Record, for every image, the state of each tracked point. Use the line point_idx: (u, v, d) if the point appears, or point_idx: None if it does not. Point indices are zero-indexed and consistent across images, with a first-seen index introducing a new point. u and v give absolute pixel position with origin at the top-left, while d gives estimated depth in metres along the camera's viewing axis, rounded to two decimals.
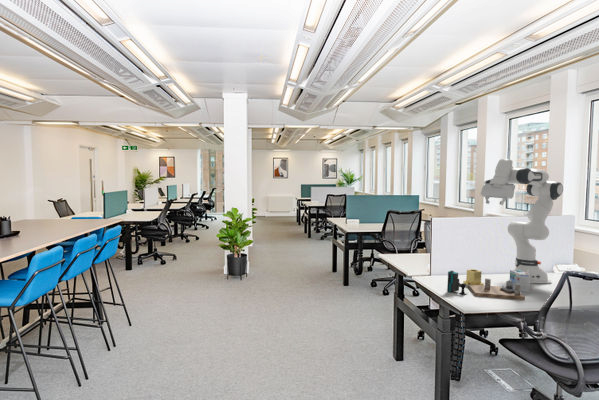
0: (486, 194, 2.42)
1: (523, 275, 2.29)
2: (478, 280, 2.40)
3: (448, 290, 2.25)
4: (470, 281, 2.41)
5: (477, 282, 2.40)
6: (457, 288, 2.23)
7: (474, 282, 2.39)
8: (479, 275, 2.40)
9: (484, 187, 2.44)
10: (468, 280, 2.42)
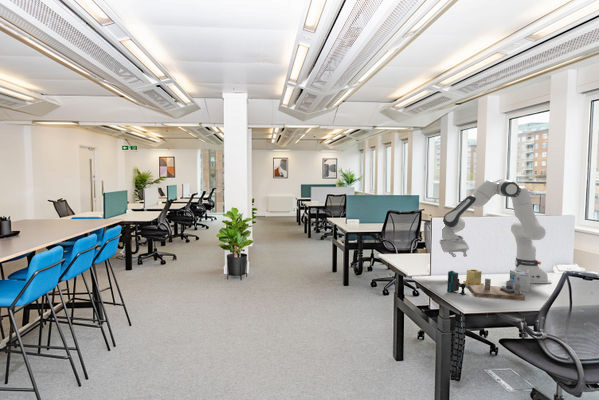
0: None
1: (523, 275, 2.29)
2: (478, 280, 2.40)
3: (448, 290, 2.25)
4: (470, 281, 2.41)
5: (477, 282, 2.40)
6: (457, 288, 2.23)
7: (474, 282, 2.39)
8: (479, 275, 2.40)
9: None
10: (468, 280, 2.42)
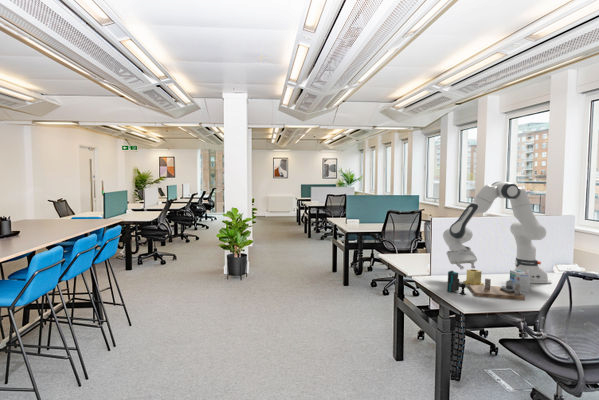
0: None
1: (523, 275, 2.29)
2: (478, 280, 2.40)
3: (448, 290, 2.25)
4: (470, 281, 2.41)
5: (477, 282, 2.40)
6: (457, 288, 2.23)
7: (474, 282, 2.39)
8: (479, 275, 2.40)
9: None
10: (468, 280, 2.42)
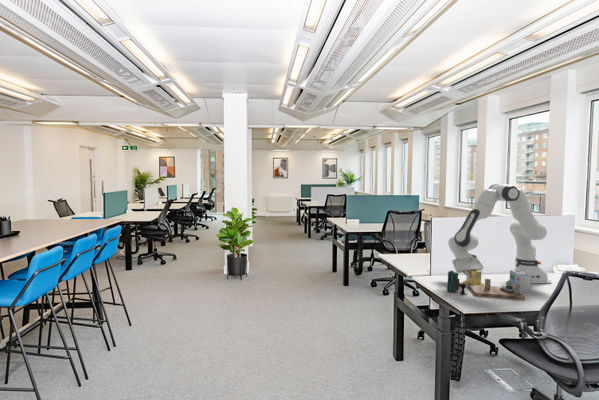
0: None
1: (523, 275, 2.29)
2: (478, 280, 2.40)
3: (448, 290, 2.25)
4: (470, 281, 2.41)
5: (477, 282, 2.40)
6: (457, 288, 2.23)
7: (474, 282, 2.39)
8: (479, 275, 2.40)
9: None
10: (468, 280, 2.42)
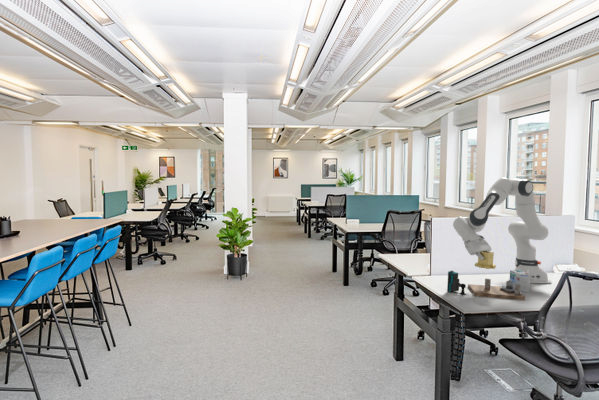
0: None
1: (523, 275, 2.29)
2: (491, 262, 2.25)
3: (448, 290, 2.25)
4: (483, 263, 2.25)
5: (490, 264, 2.25)
6: (457, 288, 2.23)
7: (488, 264, 2.23)
8: (492, 256, 2.25)
9: None
10: (480, 262, 2.26)
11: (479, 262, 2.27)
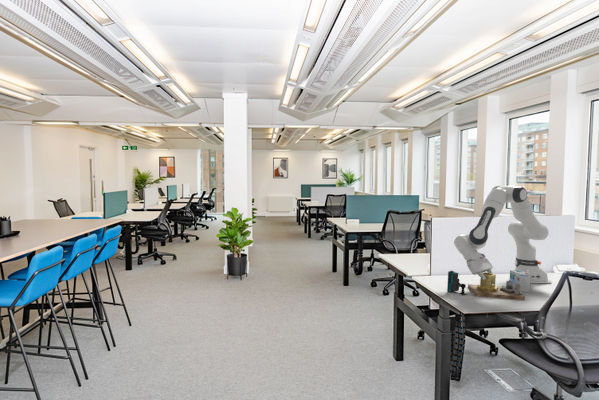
0: None
1: (523, 275, 2.29)
2: (493, 284, 2.24)
3: (448, 290, 2.25)
4: (486, 286, 2.24)
5: (492, 286, 2.24)
6: (457, 288, 2.23)
7: (490, 287, 2.22)
8: (494, 279, 2.24)
9: None
10: (483, 285, 2.25)
11: (481, 284, 2.25)
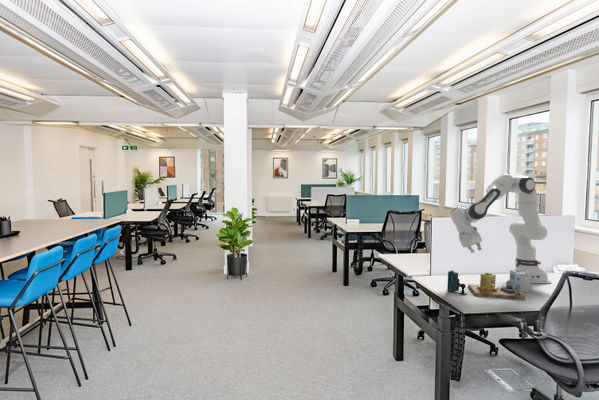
0: None
1: (523, 275, 2.29)
2: (493, 284, 2.24)
3: (448, 290, 2.25)
4: (486, 286, 2.24)
5: (492, 286, 2.24)
6: (457, 288, 2.23)
7: (490, 287, 2.22)
8: (494, 279, 2.24)
9: None
10: (483, 285, 2.25)
11: (481, 284, 2.25)
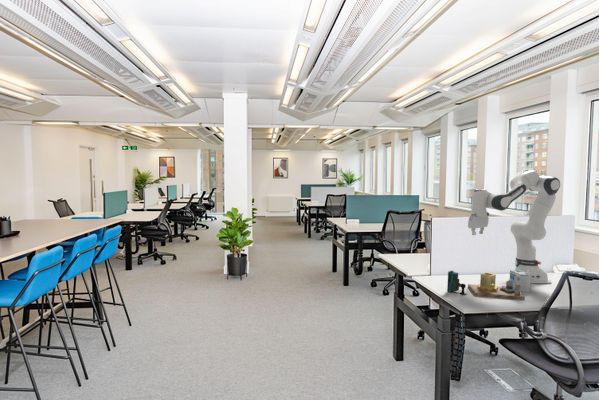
0: None
1: (523, 275, 2.29)
2: (493, 284, 2.24)
3: (448, 290, 2.25)
4: (486, 286, 2.24)
5: (492, 286, 2.24)
6: (457, 288, 2.23)
7: (490, 287, 2.22)
8: (494, 279, 2.24)
9: None
10: (483, 285, 2.25)
11: (481, 284, 2.25)
